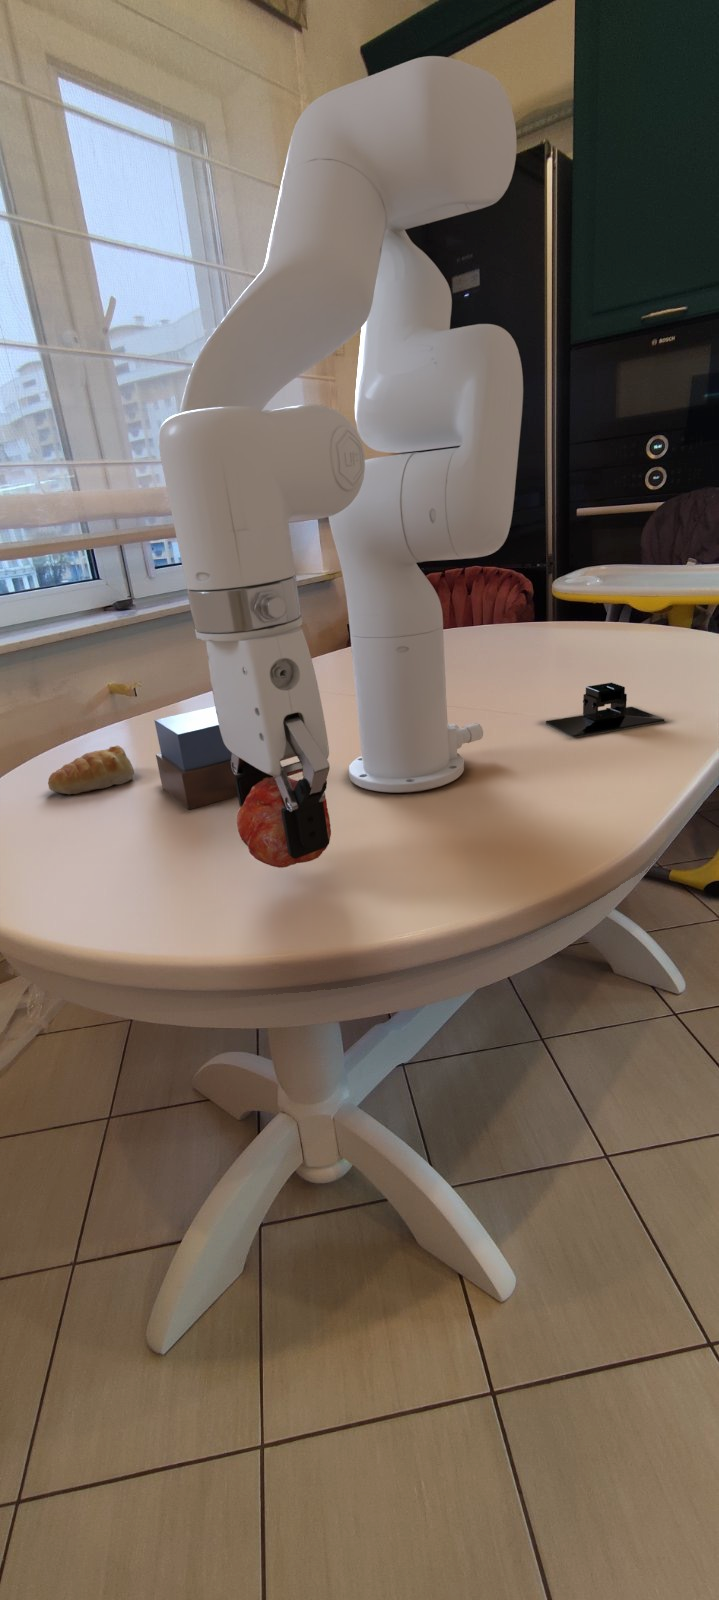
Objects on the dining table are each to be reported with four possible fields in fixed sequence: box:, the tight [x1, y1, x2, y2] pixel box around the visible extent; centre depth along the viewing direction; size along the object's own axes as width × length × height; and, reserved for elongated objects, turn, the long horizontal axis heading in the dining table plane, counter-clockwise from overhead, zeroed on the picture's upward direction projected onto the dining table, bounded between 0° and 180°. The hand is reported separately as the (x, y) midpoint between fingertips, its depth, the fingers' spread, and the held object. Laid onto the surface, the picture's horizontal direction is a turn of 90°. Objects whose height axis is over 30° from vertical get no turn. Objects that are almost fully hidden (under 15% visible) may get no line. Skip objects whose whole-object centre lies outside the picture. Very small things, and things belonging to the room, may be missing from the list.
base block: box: [155, 752, 240, 810], centre depth 80 cm, size 9×9×4 cm
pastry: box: [47, 745, 135, 796], centre depth 85 cm, size 9×7×4 cm
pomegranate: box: [236, 776, 332, 869], centre depth 58 cm, size 7×7×10 cm
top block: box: [154, 706, 231, 771], centre depth 79 cm, size 8×8×4 cm
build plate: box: [545, 682, 666, 738], centre depth 89 cm, size 12×7×5 cm, turn 105°
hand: (283, 831), depth 58 cm, fingers closed on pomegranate, 8 cm apart
